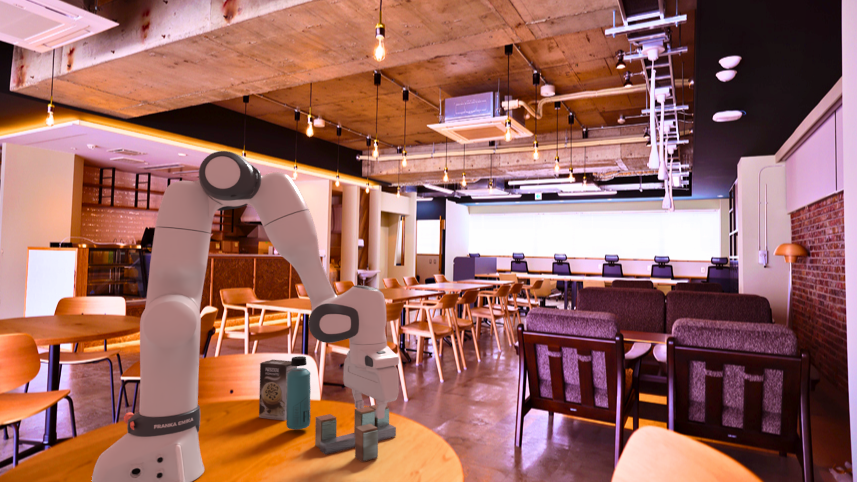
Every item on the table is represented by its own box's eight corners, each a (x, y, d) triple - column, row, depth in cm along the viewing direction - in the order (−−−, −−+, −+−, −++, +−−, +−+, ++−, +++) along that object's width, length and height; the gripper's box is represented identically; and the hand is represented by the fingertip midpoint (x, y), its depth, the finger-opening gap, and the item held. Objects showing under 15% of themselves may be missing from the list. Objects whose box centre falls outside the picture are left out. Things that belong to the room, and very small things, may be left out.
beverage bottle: (303, 436, 125) (305, 359, 126) (280, 434, 127) (282, 358, 128) (314, 427, 132) (315, 355, 133) (292, 426, 133) (293, 354, 134)
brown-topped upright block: (363, 463, 109) (363, 431, 109) (355, 457, 112) (355, 427, 112) (378, 458, 111) (378, 428, 111) (369, 453, 114) (370, 423, 115)
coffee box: (257, 418, 140) (258, 362, 141) (271, 411, 146) (272, 358, 147) (284, 421, 138) (285, 364, 139) (296, 414, 144) (297, 360, 145)
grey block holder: (325, 454, 113) (325, 424, 114) (313, 445, 119) (313, 417, 119) (395, 436, 125) (395, 409, 126) (381, 429, 131) (382, 403, 131)
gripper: (336, 349, 119) (337, 405, 119) (379, 362, 103) (380, 427, 102) (358, 346, 123) (359, 400, 122) (403, 358, 107) (404, 420, 106)
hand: (369, 412), depth 112 cm, fingers open, 8 cm apart
